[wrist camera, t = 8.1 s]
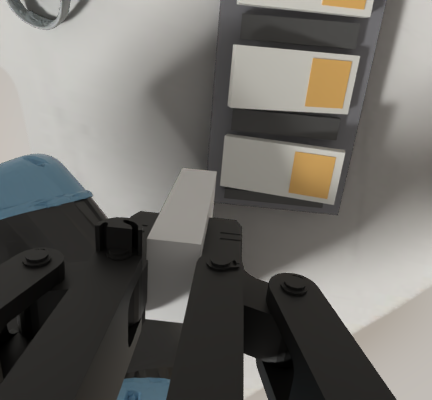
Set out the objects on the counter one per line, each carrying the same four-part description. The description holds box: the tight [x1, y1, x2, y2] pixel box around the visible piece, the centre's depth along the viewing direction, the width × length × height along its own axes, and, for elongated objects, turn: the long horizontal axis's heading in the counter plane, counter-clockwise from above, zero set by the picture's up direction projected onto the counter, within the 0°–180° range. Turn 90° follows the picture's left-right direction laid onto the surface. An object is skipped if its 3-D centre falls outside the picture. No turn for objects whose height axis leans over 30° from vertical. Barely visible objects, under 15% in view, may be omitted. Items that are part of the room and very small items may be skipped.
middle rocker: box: [228, 44, 360, 114], centre depth 33 cm, size 5×11×1 cm, turn 85°
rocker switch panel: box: [207, 0, 386, 215], centre depth 36 cm, size 26×14×4 cm, turn 175°
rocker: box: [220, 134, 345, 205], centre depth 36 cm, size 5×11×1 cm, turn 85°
